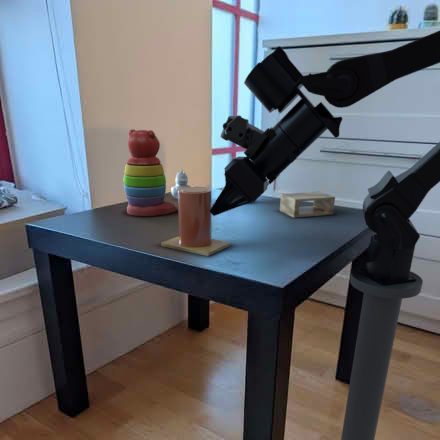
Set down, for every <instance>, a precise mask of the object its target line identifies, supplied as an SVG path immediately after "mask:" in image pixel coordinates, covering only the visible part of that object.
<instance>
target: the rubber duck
mask: <svg viewBox="0 0 440 440" xmlns="http://www.w3.org/2000/svg"><path fill="white" fill-rule="evenodd" d="M188 183H189V177H188V175H187V174H186V172H185V171H183V168H181V170H180V171H178V172H177V173H176V175H175V185H173V186H172V187H170V193H171V196H173V198H175V199H177V200H178V190H179V189H182V188H189V187H192V186H191V185H188Z"/></svg>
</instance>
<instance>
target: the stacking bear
mask: <svg viewBox="0 0 440 440" xmlns="http://www.w3.org/2000/svg"><path fill="white" fill-rule="evenodd" d="M126 144H127V149H128V152H129V154H130V156H131V157H129V158H128V159H127V161H126V164H125V167H124V175H123V189H124V193H125V197H126V200H127V203H128V205H127V206H126V213H127V214H128V215H130V216H134V217H156V216H162V215H168V214H171V213H175V212H177V207H176V205H175V204H174V203H173V202H169V201H166V200H165V197H166V196H165V195H166V191H167V180H166V175H165V170H164V167H163V164H162V163H161V160H160V159H159V158H158V157H157V155H158V153H159V151H160V147H161V146H160V145H161V144H160V140H159V139H158V136H156V133H155V132H154V130H151V129H150V130H146V129H138V130H135V129H134V128H132V129H130V130H129V131H128V139H127V143H126Z"/></svg>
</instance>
